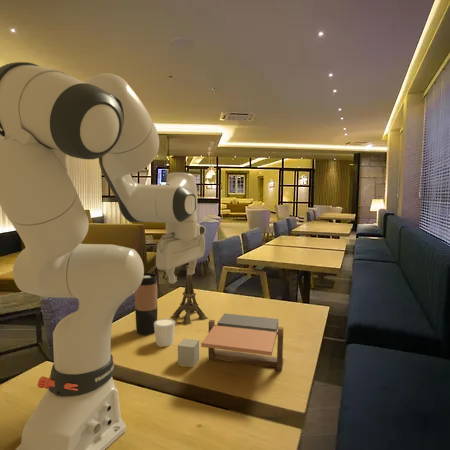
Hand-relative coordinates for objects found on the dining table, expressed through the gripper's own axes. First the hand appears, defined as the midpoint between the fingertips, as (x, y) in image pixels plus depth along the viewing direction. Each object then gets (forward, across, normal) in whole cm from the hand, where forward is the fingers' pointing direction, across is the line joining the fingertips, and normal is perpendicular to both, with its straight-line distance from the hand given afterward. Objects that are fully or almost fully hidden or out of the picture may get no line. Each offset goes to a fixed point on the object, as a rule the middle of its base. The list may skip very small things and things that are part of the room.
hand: (182, 278), depth 100 cm
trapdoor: (+16, +4, -18) cm, 24 cm away
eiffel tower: (+26, +30, +16) cm, 43 cm away
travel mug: (+25, +12, +23) cm, 36 cm away
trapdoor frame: (+25, +7, -17) cm, 31 cm away
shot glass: (+25, +7, +12) cm, 29 cm away
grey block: (+25, 0, -2) cm, 25 cm away
